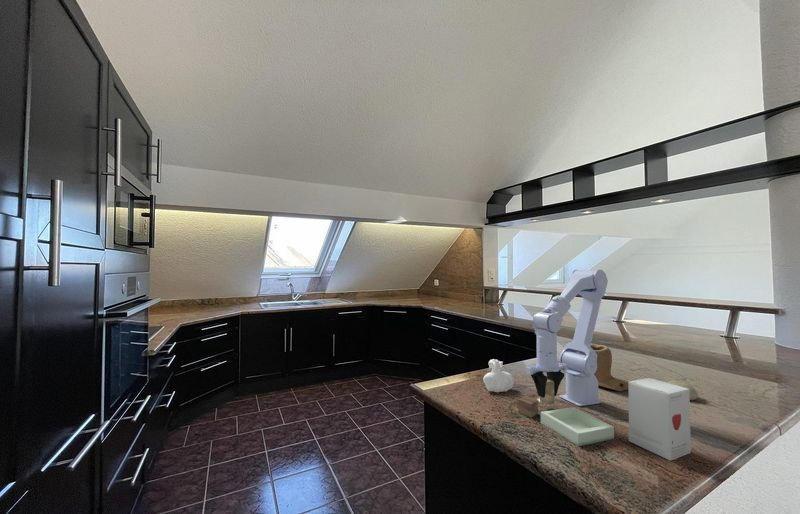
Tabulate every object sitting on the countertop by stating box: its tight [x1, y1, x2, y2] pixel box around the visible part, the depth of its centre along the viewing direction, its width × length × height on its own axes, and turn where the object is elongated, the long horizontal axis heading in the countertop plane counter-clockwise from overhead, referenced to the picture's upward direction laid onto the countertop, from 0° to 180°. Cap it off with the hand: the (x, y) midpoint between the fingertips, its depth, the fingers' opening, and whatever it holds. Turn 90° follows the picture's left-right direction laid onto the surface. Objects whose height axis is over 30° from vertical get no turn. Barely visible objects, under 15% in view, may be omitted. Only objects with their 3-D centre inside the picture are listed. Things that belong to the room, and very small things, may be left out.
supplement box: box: [628, 377, 692, 461], centre depth 75 cm, size 9×9×15 cm
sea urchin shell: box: [665, 380, 699, 401], centre depth 107 cm, size 9×8×8 cm
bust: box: [483, 358, 514, 393], centre depth 111 cm, size 12×8×11 cm
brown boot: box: [580, 344, 629, 392], centre depth 116 cm, size 15×12×15 cm
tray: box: [540, 406, 615, 447], centre depth 82 cm, size 12×12×3 cm
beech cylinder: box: [539, 379, 555, 405], centre depth 95 cm, size 4×4×6 cm
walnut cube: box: [517, 395, 539, 419], centre depth 91 cm, size 4×4×4 cm
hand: (547, 395), depth 95 cm, fingers closed on beech cylinder, 4 cm apart
